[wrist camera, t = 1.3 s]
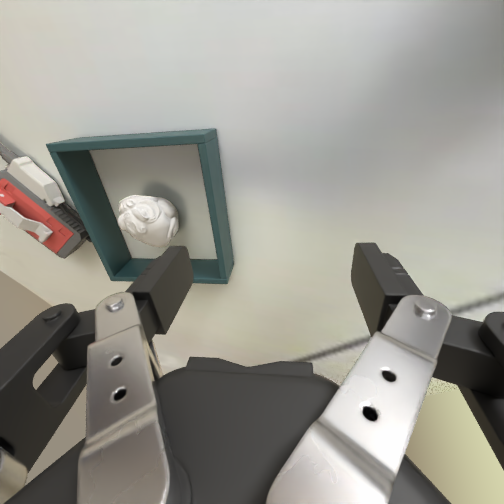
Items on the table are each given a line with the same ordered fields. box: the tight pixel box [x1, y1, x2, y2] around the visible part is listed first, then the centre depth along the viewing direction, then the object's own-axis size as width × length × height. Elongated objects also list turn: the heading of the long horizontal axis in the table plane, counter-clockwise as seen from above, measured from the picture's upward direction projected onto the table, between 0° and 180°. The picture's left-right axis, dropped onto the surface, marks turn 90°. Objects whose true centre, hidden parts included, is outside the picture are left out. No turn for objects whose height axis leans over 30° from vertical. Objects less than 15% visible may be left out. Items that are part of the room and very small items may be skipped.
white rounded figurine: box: [118, 195, 179, 247], centre depth 29 cm, size 6×7×7 cm
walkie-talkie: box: [0, 143, 92, 259], centre depth 31 cm, size 9×4×20 cm
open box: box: [46, 129, 234, 284], centre depth 30 cm, size 18×17×4 cm
